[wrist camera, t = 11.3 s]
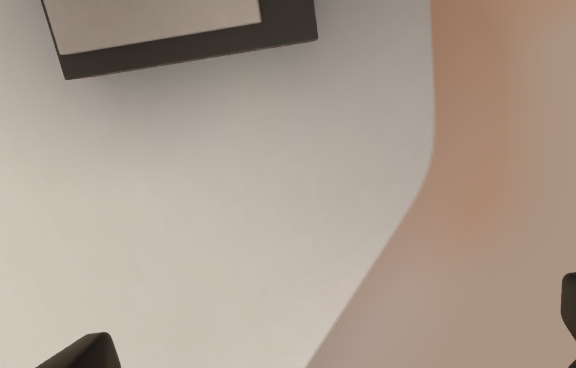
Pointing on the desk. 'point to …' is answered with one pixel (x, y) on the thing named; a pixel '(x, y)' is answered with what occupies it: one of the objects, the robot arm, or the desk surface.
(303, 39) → the scale
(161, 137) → the desk surface
